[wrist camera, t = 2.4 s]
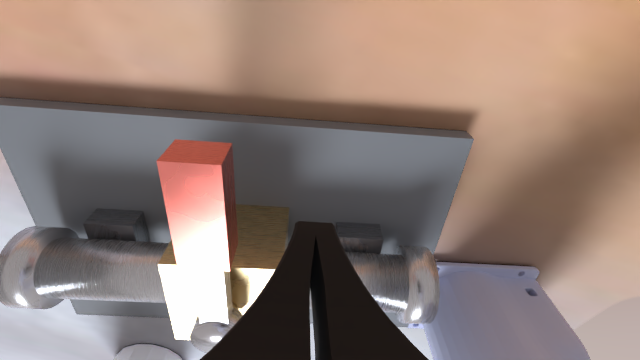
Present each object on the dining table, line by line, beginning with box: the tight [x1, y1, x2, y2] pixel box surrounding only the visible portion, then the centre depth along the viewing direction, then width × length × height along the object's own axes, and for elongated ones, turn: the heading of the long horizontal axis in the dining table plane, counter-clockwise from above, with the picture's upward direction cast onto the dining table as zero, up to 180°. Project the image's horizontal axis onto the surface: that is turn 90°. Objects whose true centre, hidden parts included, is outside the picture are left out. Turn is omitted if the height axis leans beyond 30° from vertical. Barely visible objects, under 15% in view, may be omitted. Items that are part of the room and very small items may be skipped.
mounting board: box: [0, 97, 474, 327], centre depth 24 cm, size 28×18×1 cm, turn 85°
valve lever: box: [157, 139, 243, 353], centre depth 15 cm, size 12×3×2 cm, turn 175°
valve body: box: [0, 204, 440, 340], centre depth 21 cm, size 25×6×6 cm, turn 85°
